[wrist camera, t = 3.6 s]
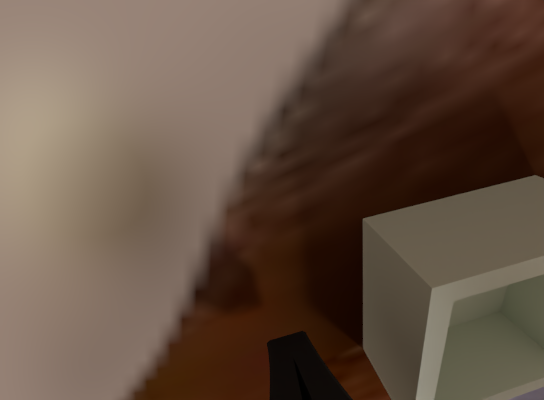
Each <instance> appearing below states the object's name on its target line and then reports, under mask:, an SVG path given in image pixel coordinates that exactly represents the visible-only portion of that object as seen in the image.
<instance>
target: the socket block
mask: <svg viewBox="0 0 544 400" xmlns="http://www.w3.org/2000/svg"><path fill="white" fill-rule="evenodd" d="M363 349H364V351H365V353H366V355H367V356H368V358H369V360H370V362H371V364H372V365H373V367H374V369H375V371H376V373H377V374H378V376H379V378H380V380H381V382H382V383H383V385H384V387H385V389H386V391H387V392H388V394H389V396H390V398H391V400H508V399H511V398H514V397H516V396H519V395H522V394H525V393H528V392H531V391H533V390H536V389H539V388H542V387H544V178H542V177H539V176H536V175H534V176H530V177H526V178H522V179H518V180H514V181H510V182H506V183H502V184H498V185H494V186H490V187H486V188H482V189H478V190H474V191H470V192H466V193H462V194H458V195H454V196H450V197H446V198H442V199H438V200H434V201H430V202H426V203H422V204H418V205H414V206H411V207H407V208H403V209H399V210H395V211H391V212H387V213H383V214H379V215H375V216H371V217H367V218H363Z"/></svg>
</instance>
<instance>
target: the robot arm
mask: <svg viewBox="0 0 544 400" xmlns="http://www.w3.org/2000/svg"><path fill="white" fill-rule="evenodd" d="M267 347H268V353H269V363H270V400H353V399H352V398H351V397H350V396H349V395H348V393H347V392H346V391H345V390H344V388H343V387H342V386H341V384H340V383H339V382H338V381H337V379H336V378H335V377H334V375H333V374H332V373H331V371H330V370H329V369H328V367H327V366H326V365H325V363H324V362H323V360H322V359H321V357H320V356H319V354H318V353H317V351H316V350H315V348H314V347H313V345H312V343H311V342H310V340H309V338H308V336H307V334H306V332H303V331H301V332H297V333H294V334H290V335H287V336H284V337H280V338H277V339H273V340H270V341H269V342H268V343H267ZM508 400H544V387H542V388H539V389H536V390H533V391H531V392H528V393H525V394H522V395H519V396H516V397H514V398H511V399H508Z"/></svg>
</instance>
